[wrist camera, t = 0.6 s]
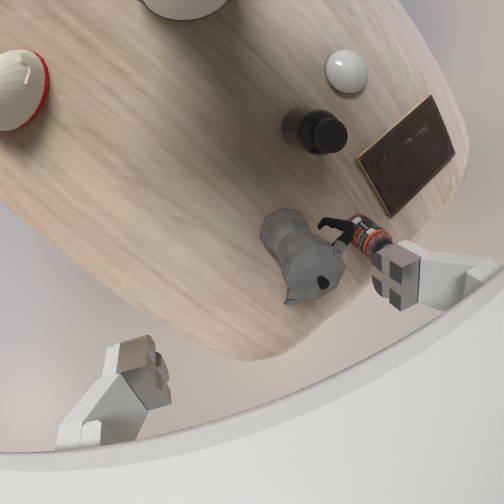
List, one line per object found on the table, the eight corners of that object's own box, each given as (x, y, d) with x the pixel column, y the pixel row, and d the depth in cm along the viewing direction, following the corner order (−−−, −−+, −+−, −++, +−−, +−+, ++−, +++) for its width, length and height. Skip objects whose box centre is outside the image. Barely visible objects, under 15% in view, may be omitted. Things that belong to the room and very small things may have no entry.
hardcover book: (352, 156, 52) (358, 158, 50) (424, 94, 48) (431, 94, 46) (386, 214, 60) (392, 218, 58) (449, 153, 56) (456, 155, 54)
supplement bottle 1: (303, 99, 45) (338, 101, 34) (325, 131, 48) (363, 141, 38) (271, 124, 46) (299, 131, 35) (296, 155, 49) (327, 171, 39)
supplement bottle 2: (344, 216, 57) (376, 241, 47) (369, 211, 58) (403, 235, 48) (343, 243, 60) (372, 271, 50) (367, 238, 61) (398, 264, 51)
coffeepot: (279, 269, 59) (314, 330, 44) (241, 246, 55) (268, 307, 39) (330, 208, 55) (385, 252, 40) (296, 178, 51) (348, 216, 36)
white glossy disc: (325, 46, 41) (328, 45, 40) (364, 55, 42) (368, 55, 41) (323, 89, 44) (326, 89, 43) (363, 96, 46) (366, 96, 45)
